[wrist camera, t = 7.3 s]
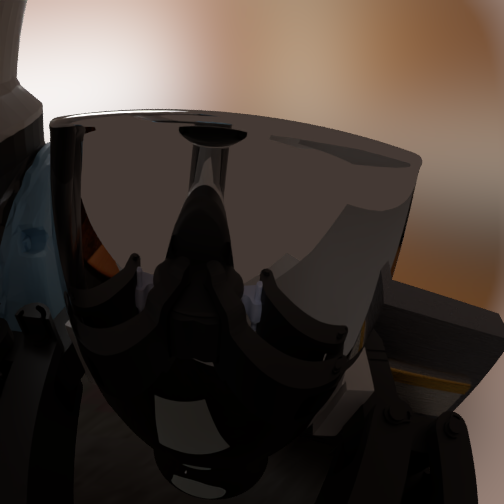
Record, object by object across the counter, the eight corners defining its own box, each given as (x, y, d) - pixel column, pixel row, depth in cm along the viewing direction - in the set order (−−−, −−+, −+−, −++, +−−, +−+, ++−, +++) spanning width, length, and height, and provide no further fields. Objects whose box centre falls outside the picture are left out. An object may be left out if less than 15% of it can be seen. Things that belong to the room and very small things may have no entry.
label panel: (213, 408, 22) (225, 259, 15) (239, 367, 27) (262, 225, 20) (399, 460, 17) (514, 344, 10) (402, 414, 22) (488, 295, 15)
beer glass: (171, 387, 15) (162, 110, 8) (282, 415, 14) (375, 141, 7) (128, 480, 9) (-36, 140, 2) (263, 519, 8) (547, 217, 1)
